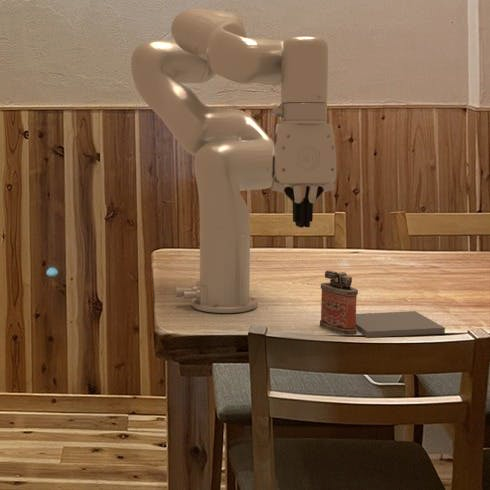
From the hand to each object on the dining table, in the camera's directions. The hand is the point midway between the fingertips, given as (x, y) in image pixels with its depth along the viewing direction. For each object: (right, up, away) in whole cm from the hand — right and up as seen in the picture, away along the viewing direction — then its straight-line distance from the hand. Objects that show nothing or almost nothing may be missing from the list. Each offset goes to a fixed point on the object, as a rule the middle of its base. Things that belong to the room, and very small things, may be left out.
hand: (302, 226), depth 133 cm
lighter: (+6, -18, +5) cm, 19 cm away
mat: (+16, -17, +7) cm, 25 cm away
